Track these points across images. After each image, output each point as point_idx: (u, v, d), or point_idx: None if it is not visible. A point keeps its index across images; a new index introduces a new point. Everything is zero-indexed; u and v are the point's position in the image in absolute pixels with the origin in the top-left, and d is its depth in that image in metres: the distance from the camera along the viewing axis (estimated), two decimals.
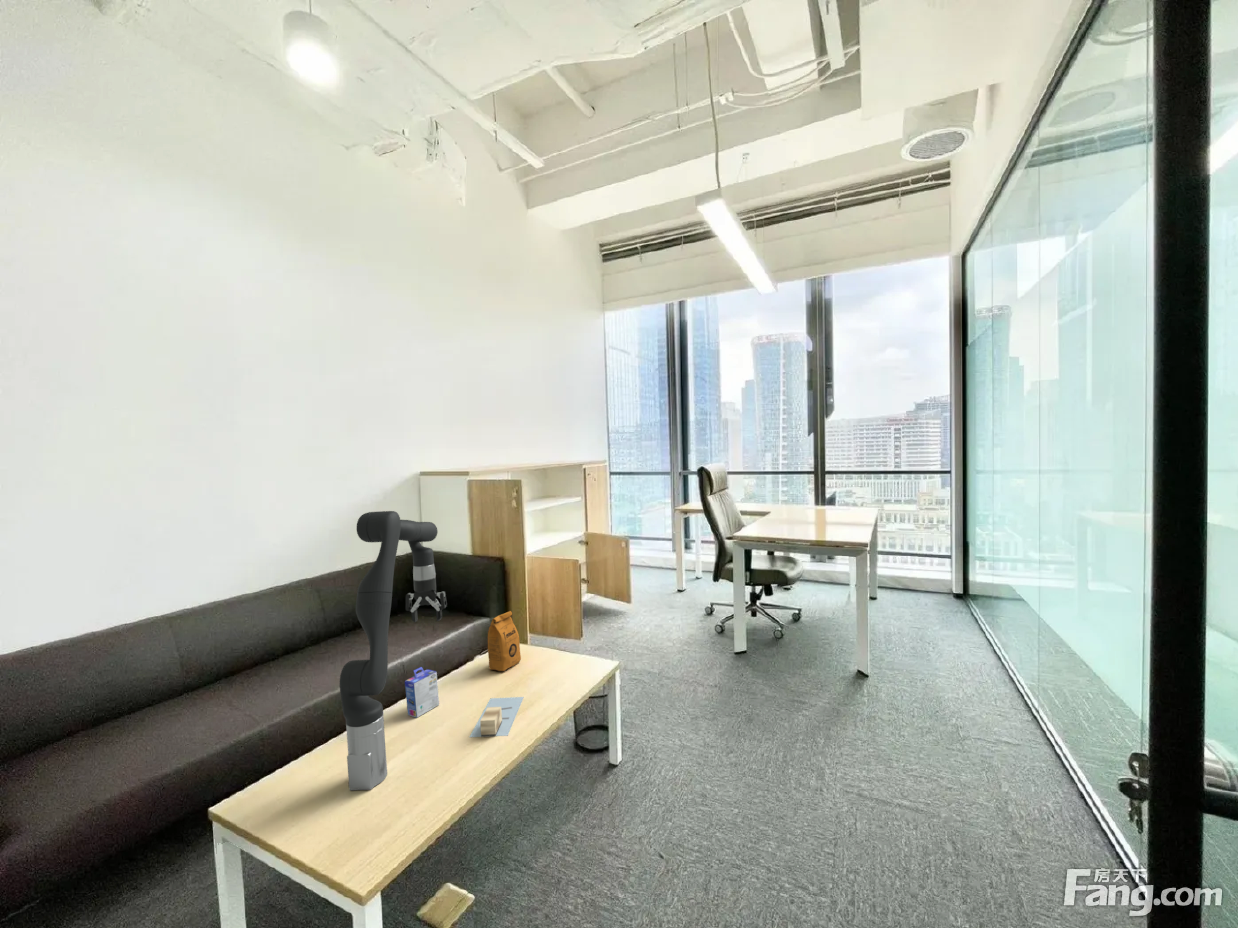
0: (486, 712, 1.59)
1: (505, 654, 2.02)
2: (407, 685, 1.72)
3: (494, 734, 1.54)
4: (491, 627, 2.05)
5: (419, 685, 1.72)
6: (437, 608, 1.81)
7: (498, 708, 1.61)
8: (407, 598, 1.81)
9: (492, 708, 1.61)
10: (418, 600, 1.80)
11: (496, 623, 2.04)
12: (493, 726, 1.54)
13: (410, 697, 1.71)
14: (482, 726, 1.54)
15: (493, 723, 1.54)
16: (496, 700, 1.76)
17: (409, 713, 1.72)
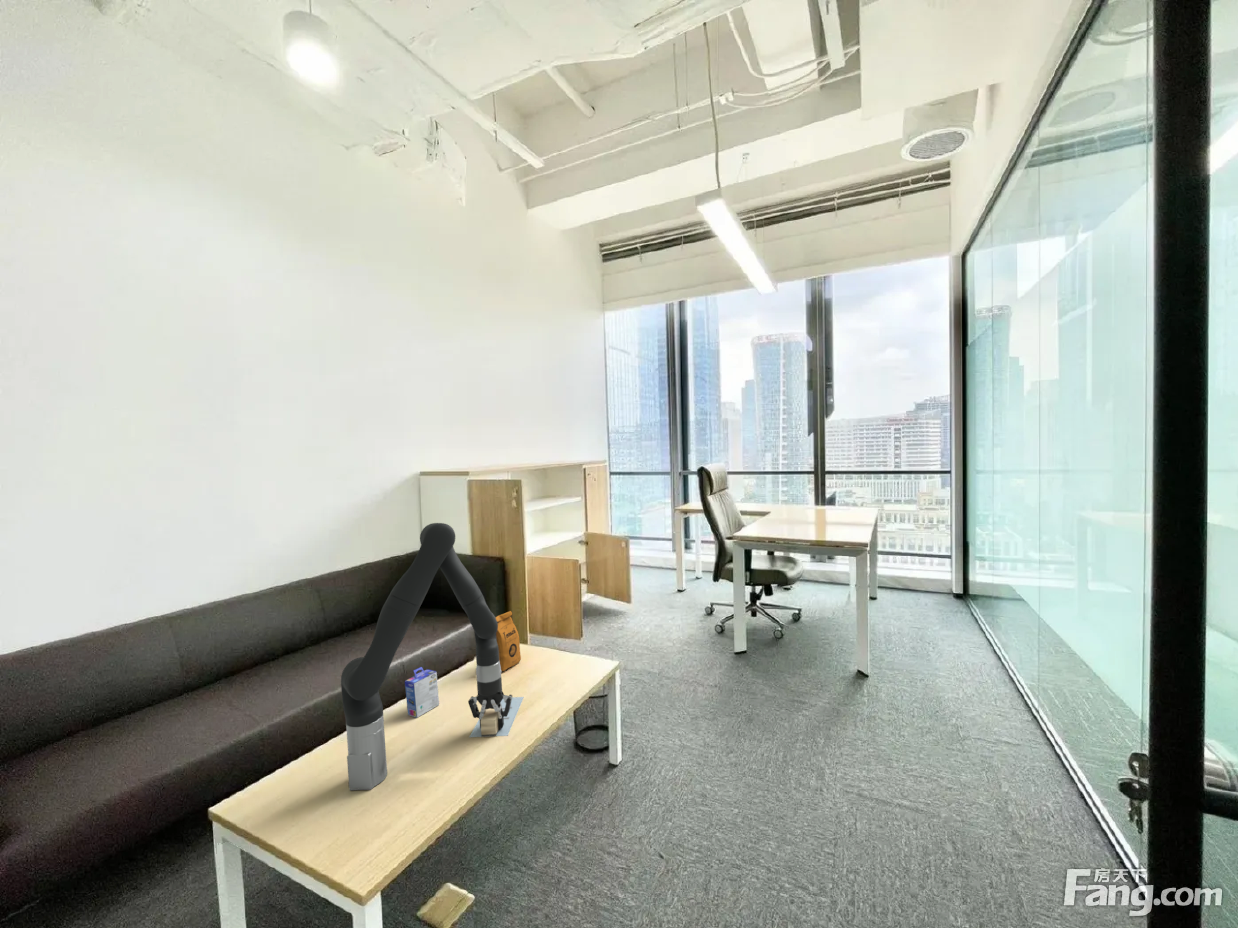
0: (486, 712, 1.59)
1: (505, 654, 2.02)
2: (407, 685, 1.72)
3: (494, 734, 1.54)
4: None
5: (419, 685, 1.72)
6: (499, 715, 1.57)
7: None
8: (471, 704, 1.57)
9: None
10: (483, 704, 1.56)
11: None
12: (493, 726, 1.54)
13: (410, 697, 1.71)
14: (482, 726, 1.54)
15: (493, 723, 1.54)
16: None
17: (409, 713, 1.72)
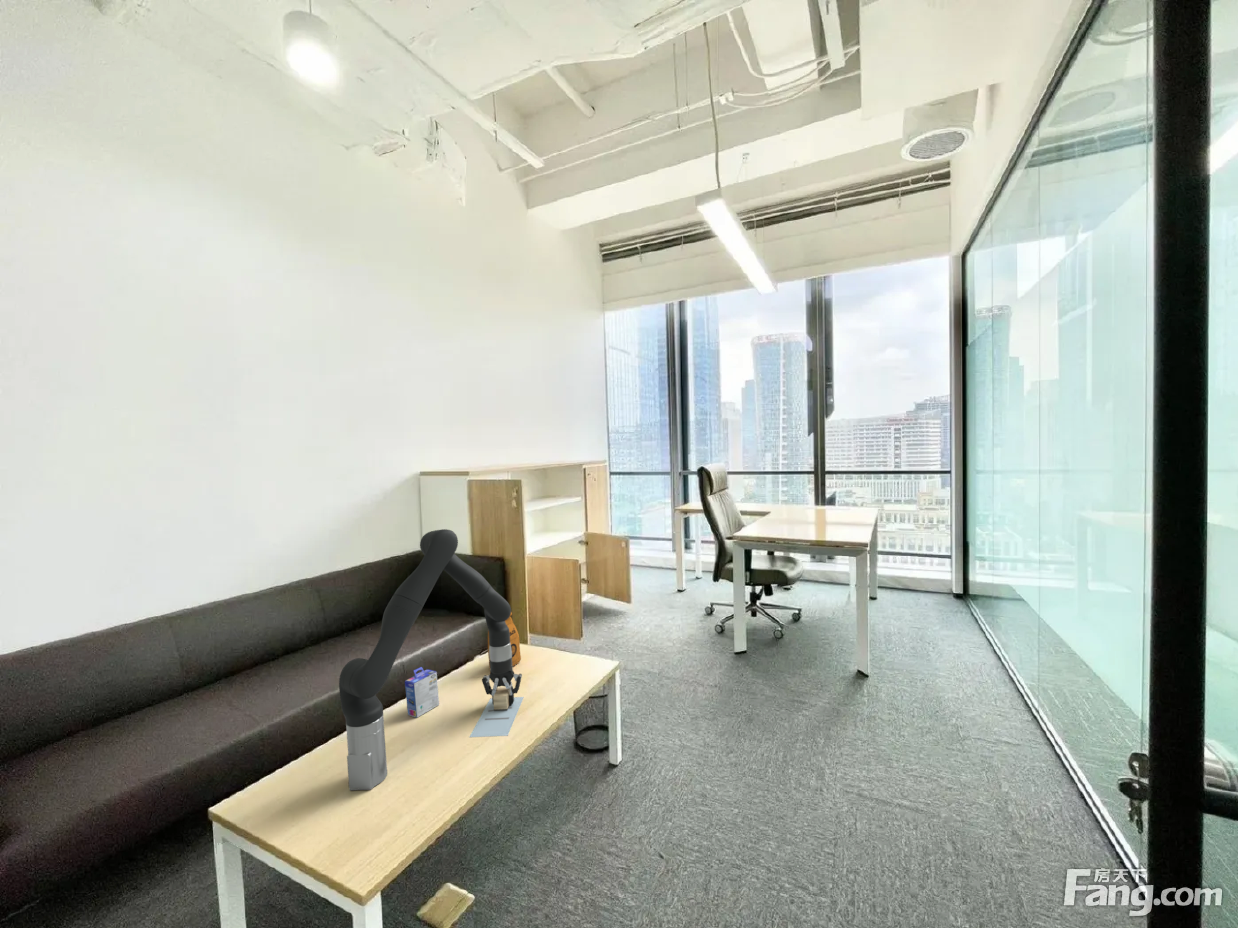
0: (498, 689, 1.74)
1: None
2: (407, 685, 1.72)
3: (506, 709, 1.69)
4: None
5: (419, 685, 1.72)
6: (510, 692, 1.72)
7: None
8: (484, 682, 1.72)
9: (503, 686, 1.76)
10: (495, 682, 1.71)
11: None
12: (505, 701, 1.69)
13: (410, 697, 1.71)
14: (495, 701, 1.69)
15: (505, 699, 1.69)
16: None
17: (409, 713, 1.72)
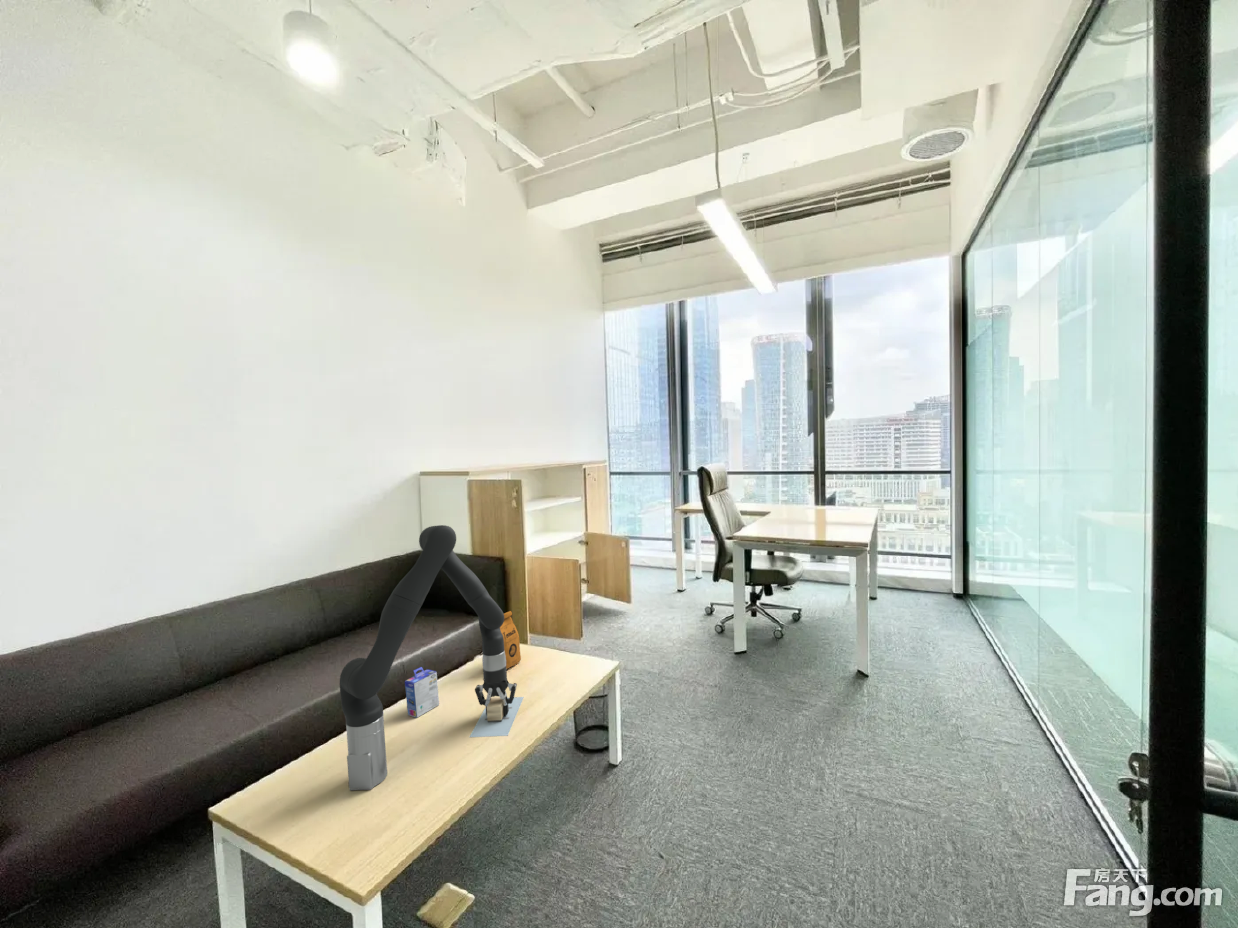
0: (492, 699, 1.67)
1: (505, 654, 2.02)
2: (407, 685, 1.72)
3: (500, 720, 1.62)
4: None
5: (419, 685, 1.72)
6: (504, 702, 1.65)
7: None
8: (477, 692, 1.65)
9: (498, 696, 1.69)
10: (489, 692, 1.64)
11: None
12: (499, 712, 1.62)
13: (410, 697, 1.71)
14: (488, 712, 1.62)
15: (499, 709, 1.62)
16: None
17: (409, 713, 1.72)
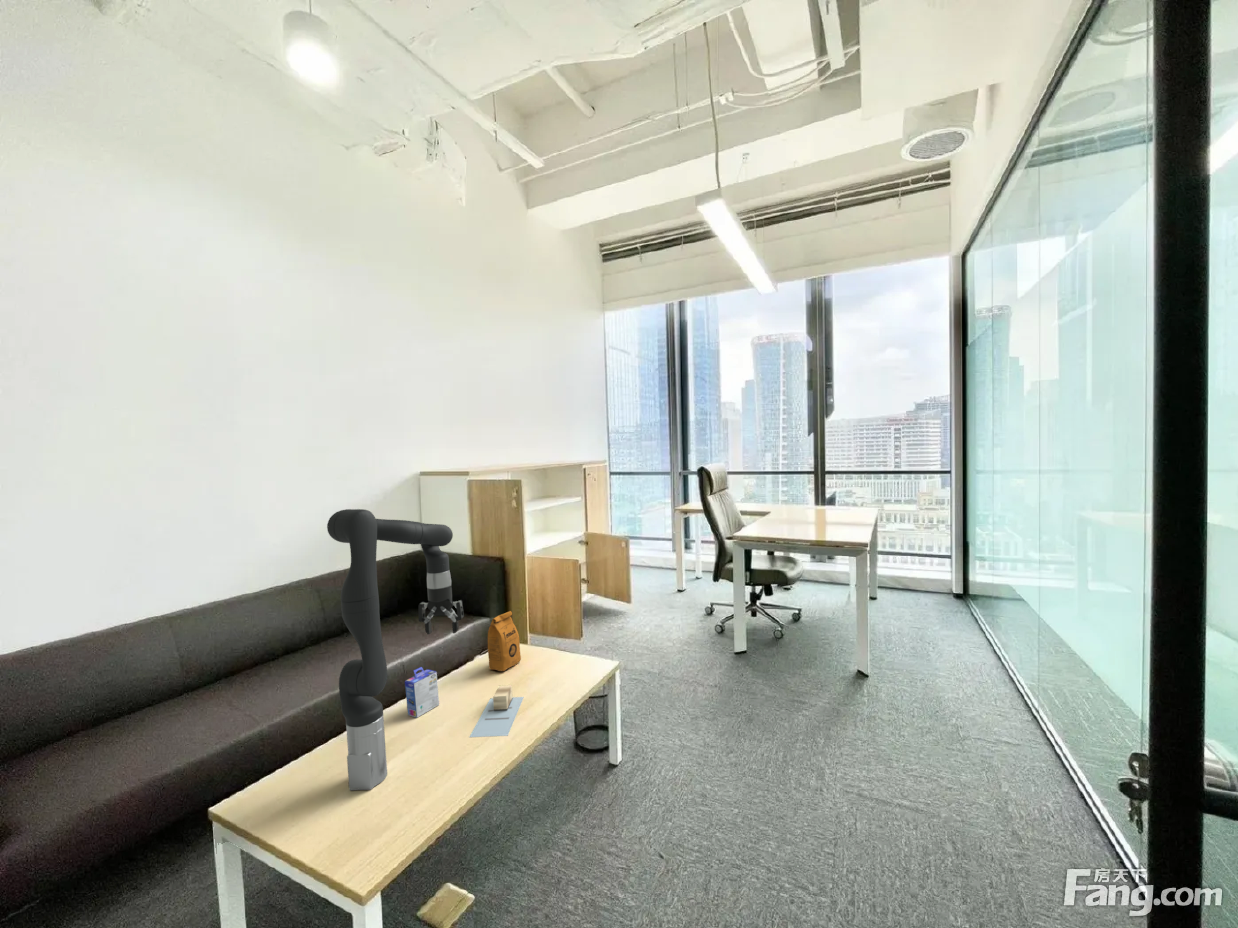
0: (498, 689, 1.74)
1: (505, 654, 2.02)
2: (407, 685, 1.72)
3: (506, 709, 1.69)
4: (491, 627, 2.05)
5: (419, 685, 1.72)
6: (453, 619, 1.64)
7: (509, 686, 1.76)
8: (420, 608, 1.64)
9: (503, 686, 1.76)
10: (432, 610, 1.64)
11: (496, 623, 2.04)
12: (505, 701, 1.69)
13: (410, 697, 1.71)
14: (495, 701, 1.69)
15: (505, 699, 1.69)
16: None
17: (409, 713, 1.72)
